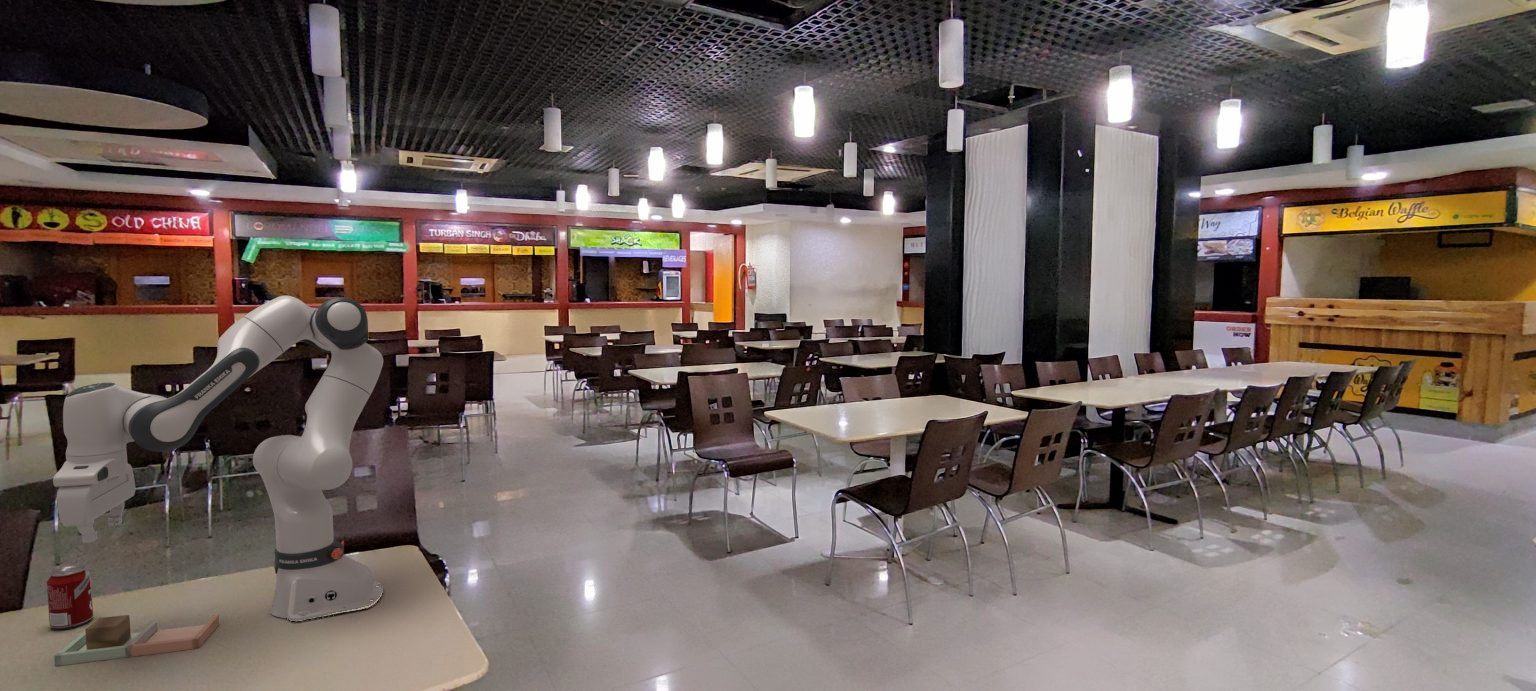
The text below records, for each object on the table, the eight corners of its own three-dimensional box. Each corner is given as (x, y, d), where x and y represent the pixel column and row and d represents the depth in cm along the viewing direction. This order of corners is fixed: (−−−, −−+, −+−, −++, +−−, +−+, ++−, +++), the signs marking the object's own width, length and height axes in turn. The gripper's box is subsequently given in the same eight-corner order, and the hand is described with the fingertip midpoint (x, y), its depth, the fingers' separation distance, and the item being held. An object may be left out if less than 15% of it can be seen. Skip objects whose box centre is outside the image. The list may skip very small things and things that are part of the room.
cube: (130, 637, 150) (129, 614, 149) (117, 649, 145) (116, 625, 145) (100, 641, 148) (99, 617, 148) (86, 653, 144) (85, 629, 143)
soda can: (66, 632, 152) (62, 577, 151) (41, 629, 153) (37, 574, 152) (101, 618, 158) (98, 565, 157) (77, 614, 160) (73, 562, 159)
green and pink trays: (219, 623, 157) (218, 614, 157) (198, 648, 147) (198, 638, 147) (86, 638, 149) (86, 629, 149) (54, 666, 139) (54, 656, 139)
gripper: (105, 453, 152) (110, 517, 153) (46, 480, 133) (53, 553, 134) (142, 451, 154) (147, 514, 155) (89, 478, 135) (95, 549, 136)
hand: (103, 533), depth 145 cm, fingers open, 8 cm apart
